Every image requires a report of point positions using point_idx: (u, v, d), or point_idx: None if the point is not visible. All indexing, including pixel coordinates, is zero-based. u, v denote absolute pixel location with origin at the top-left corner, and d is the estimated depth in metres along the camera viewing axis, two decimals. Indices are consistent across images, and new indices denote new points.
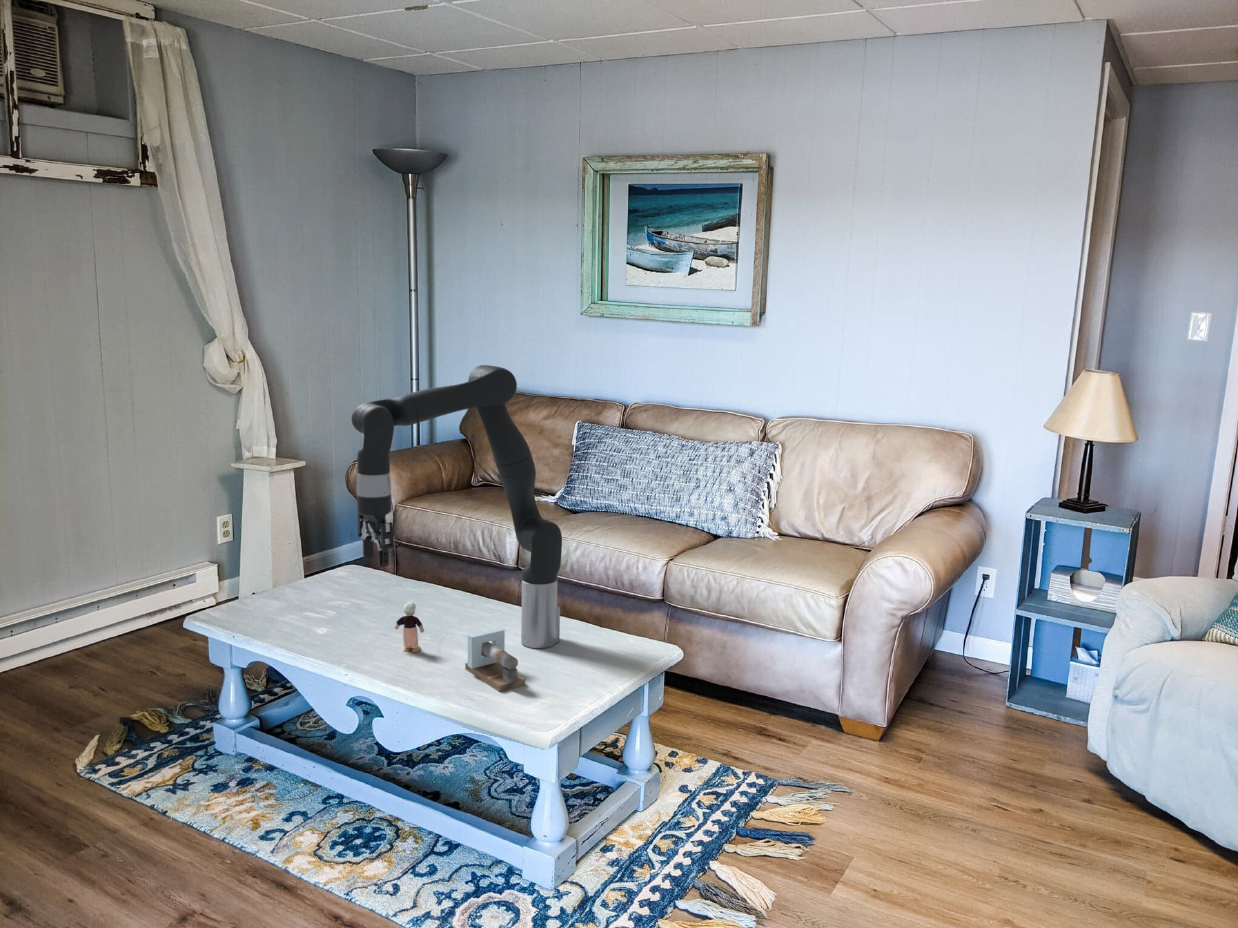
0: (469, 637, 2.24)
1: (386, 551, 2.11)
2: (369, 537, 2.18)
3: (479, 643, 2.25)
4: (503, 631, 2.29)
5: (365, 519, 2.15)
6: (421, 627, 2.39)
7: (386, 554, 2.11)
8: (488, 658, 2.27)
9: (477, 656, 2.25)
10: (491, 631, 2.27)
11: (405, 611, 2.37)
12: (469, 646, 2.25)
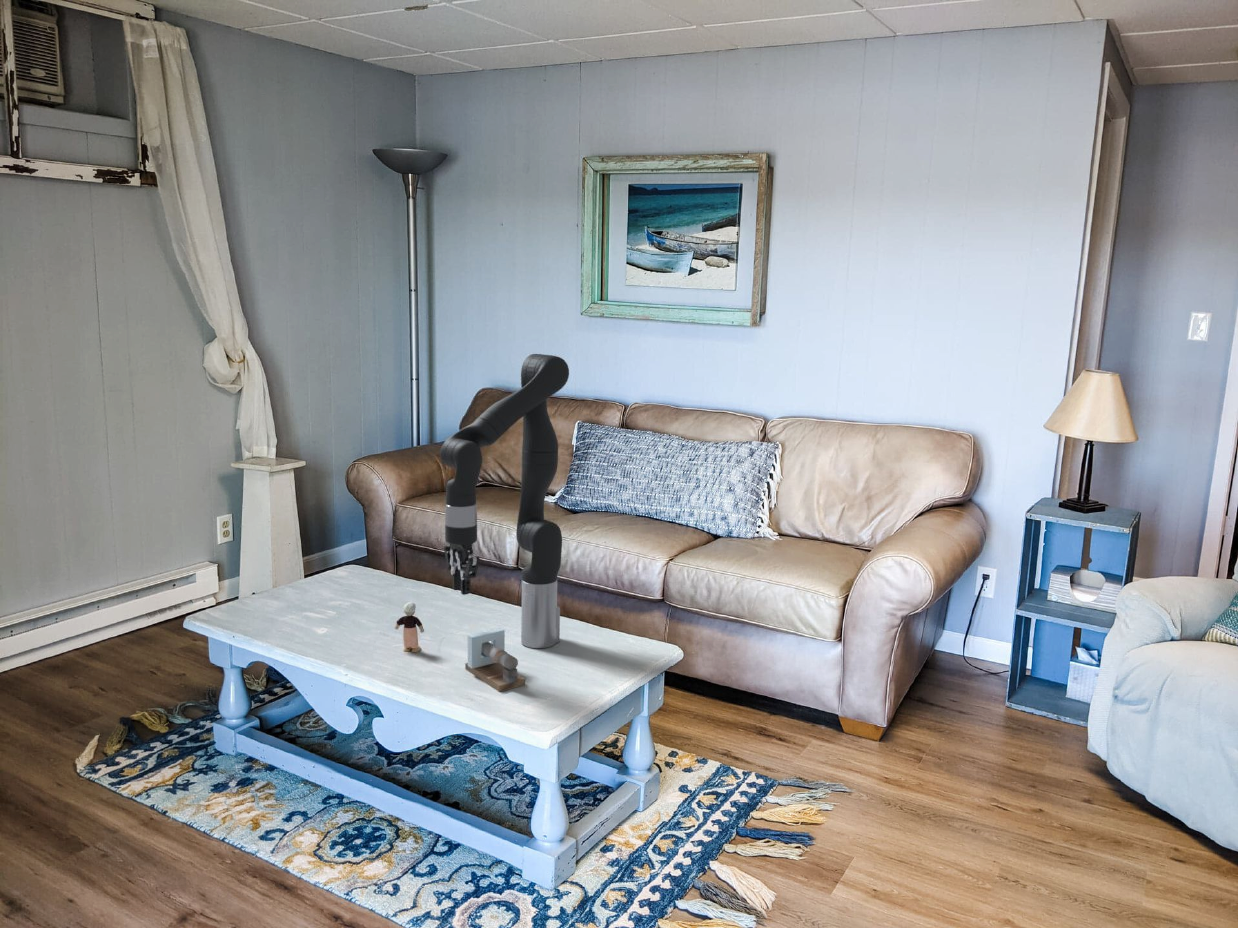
0: (469, 637, 2.24)
1: (468, 580, 2.25)
2: (458, 569, 2.29)
3: (479, 643, 2.25)
4: (503, 631, 2.29)
5: None
6: (421, 627, 2.39)
7: (468, 583, 2.25)
8: (488, 658, 2.27)
9: (477, 656, 2.25)
10: (491, 631, 2.27)
11: (405, 611, 2.37)
12: (469, 646, 2.25)
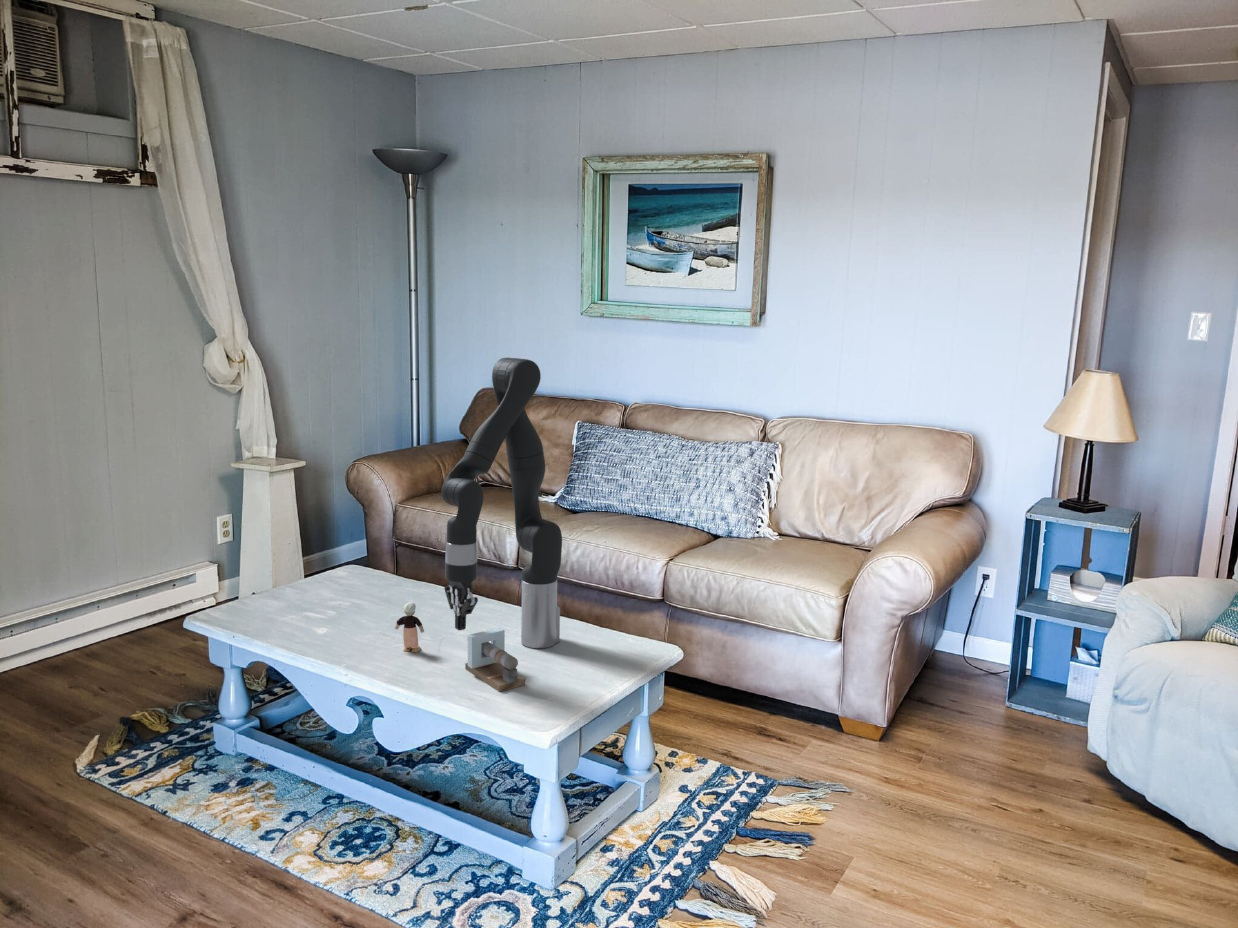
0: (469, 637, 2.24)
1: (464, 616, 2.27)
2: (460, 608, 2.29)
3: (479, 643, 2.25)
4: (503, 631, 2.29)
5: None
6: (421, 627, 2.39)
7: (464, 619, 2.28)
8: (488, 658, 2.27)
9: (477, 656, 2.25)
10: (491, 631, 2.27)
11: (405, 611, 2.37)
12: (469, 646, 2.25)
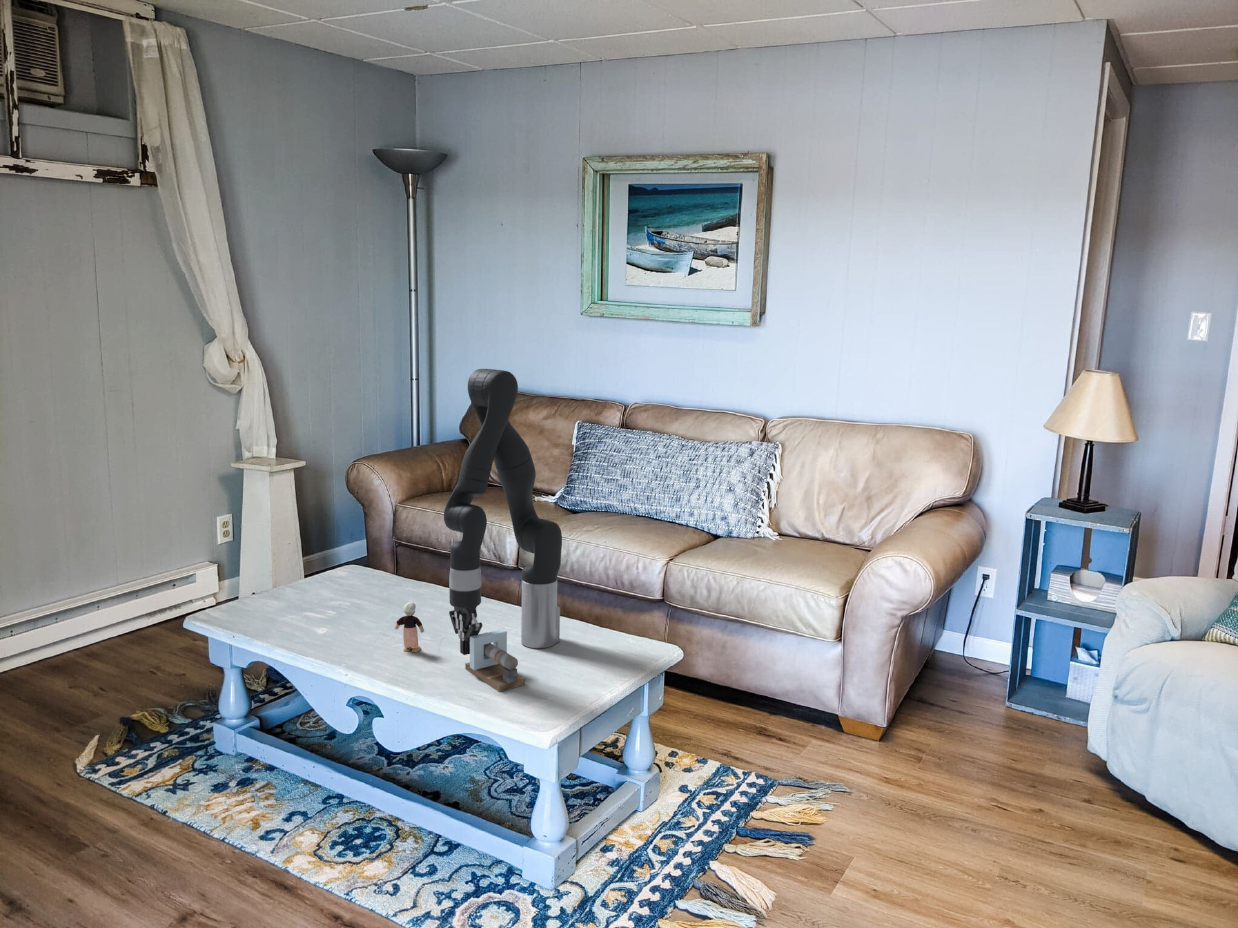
0: (471, 638, 2.23)
1: (469, 641, 2.27)
2: (465, 633, 2.29)
3: (481, 644, 2.24)
4: (505, 632, 2.28)
5: None
6: (421, 627, 2.39)
7: (469, 643, 2.27)
8: (490, 659, 2.26)
9: (479, 658, 2.24)
10: (493, 632, 2.26)
11: (405, 611, 2.37)
12: (471, 647, 2.24)
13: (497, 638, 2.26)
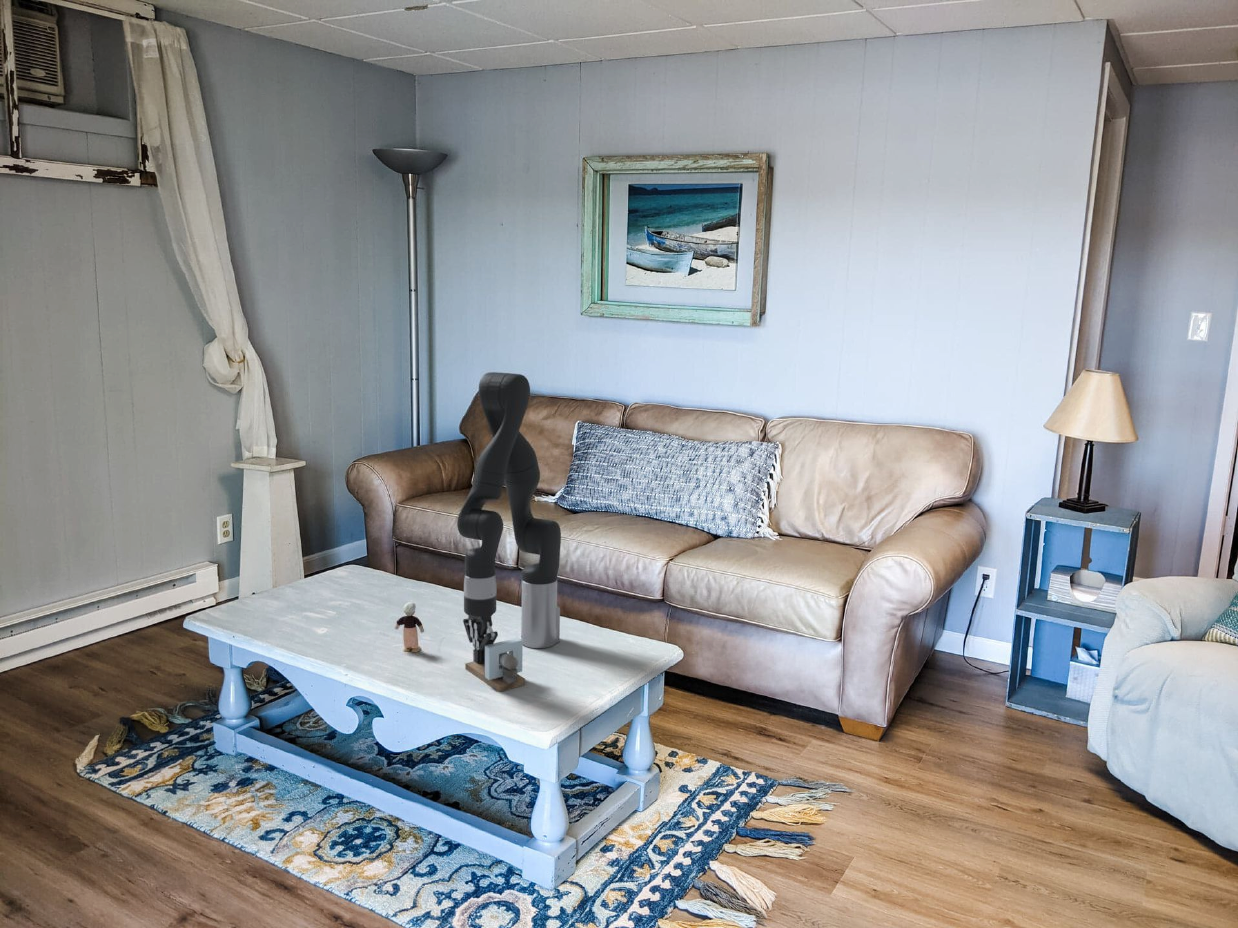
0: (486, 647, 2.18)
1: (484, 650, 2.22)
2: None
3: (497, 654, 2.18)
4: (521, 641, 2.22)
5: None
6: (421, 627, 2.39)
7: (484, 652, 2.22)
8: None
9: (494, 667, 2.19)
10: (509, 641, 2.21)
11: (405, 611, 2.37)
12: (486, 657, 2.18)
13: (513, 647, 2.21)
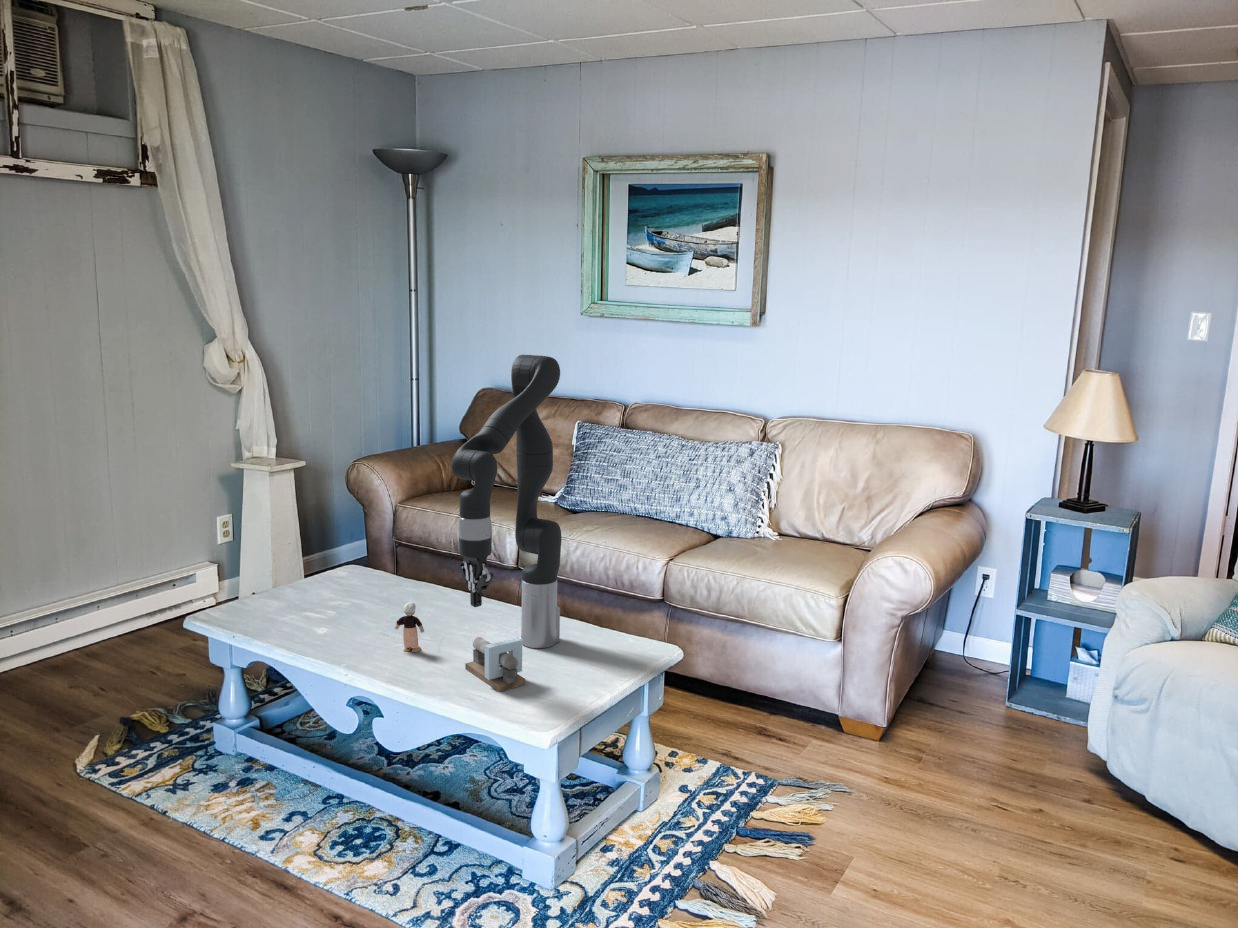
0: (486, 647, 2.18)
1: (480, 592, 2.21)
2: (475, 584, 2.22)
3: (496, 654, 2.19)
4: (521, 641, 2.22)
5: None
6: (421, 627, 2.39)
7: (479, 595, 2.21)
8: None
9: (494, 667, 2.19)
10: (508, 641, 2.21)
11: (405, 611, 2.37)
12: (486, 657, 2.18)
13: (512, 647, 2.21)
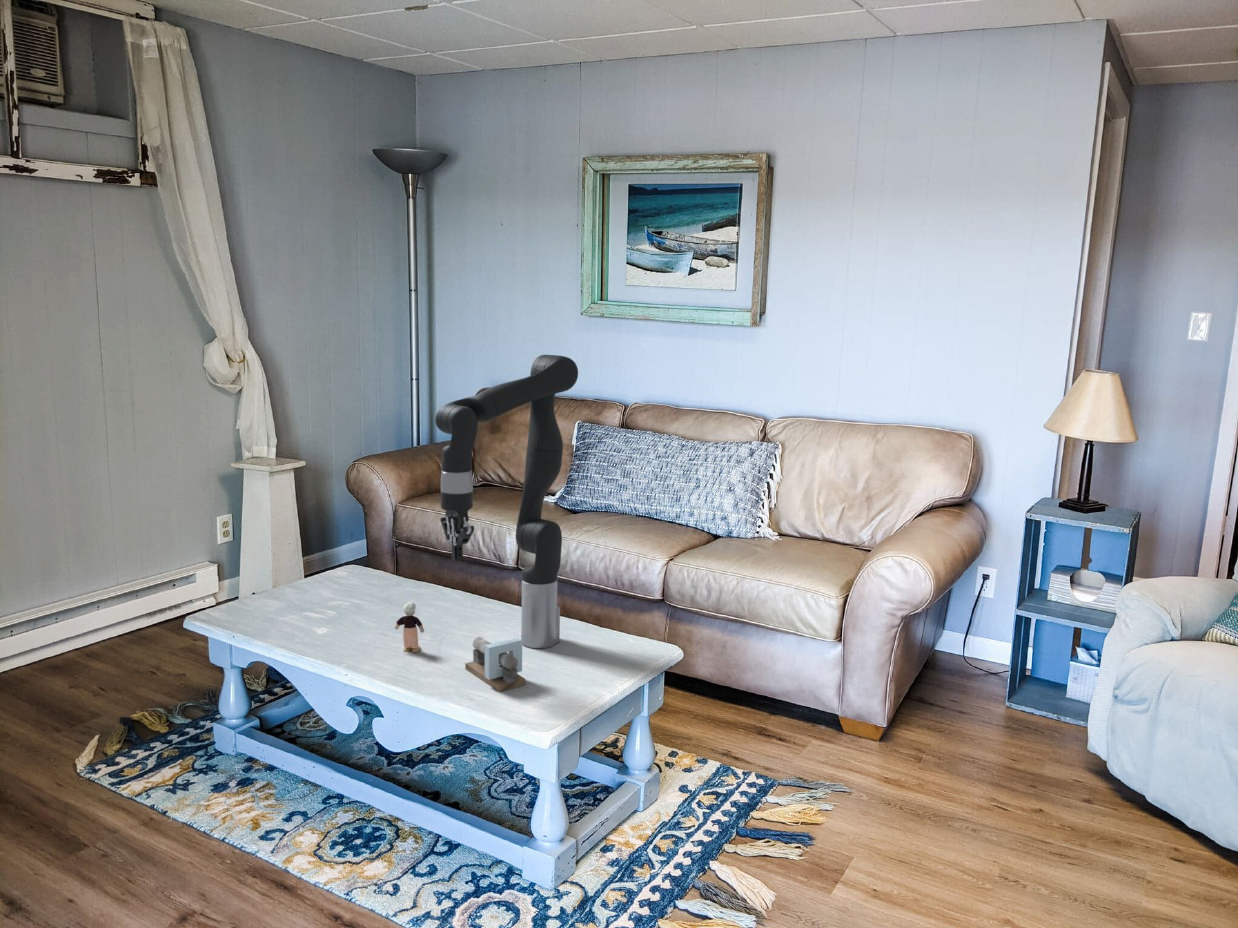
0: (486, 647, 2.18)
1: (461, 546, 2.25)
2: (457, 538, 2.26)
3: (496, 654, 2.19)
4: (521, 641, 2.22)
5: None
6: (421, 627, 2.39)
7: (460, 549, 2.25)
8: None
9: (494, 667, 2.19)
10: (508, 641, 2.21)
11: (405, 611, 2.37)
12: (486, 657, 2.18)
13: (512, 647, 2.21)
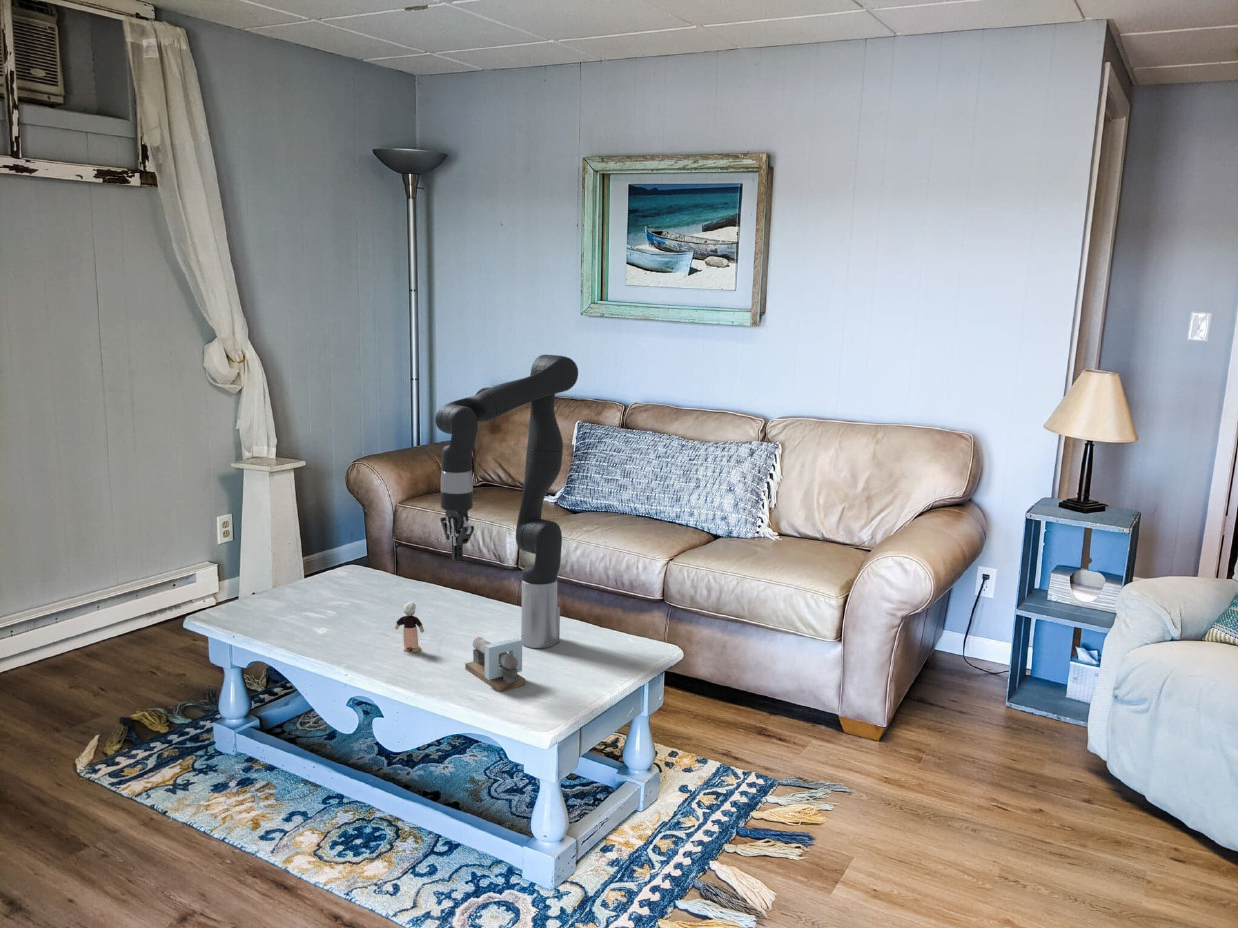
0: (486, 647, 2.18)
1: (460, 546, 2.25)
2: (457, 538, 2.26)
3: (496, 654, 2.19)
4: (521, 641, 2.22)
5: None
6: (421, 627, 2.39)
7: (460, 549, 2.25)
8: None
9: (494, 667, 2.19)
10: (508, 641, 2.21)
11: (405, 611, 2.37)
12: (486, 657, 2.18)
13: (512, 647, 2.21)
